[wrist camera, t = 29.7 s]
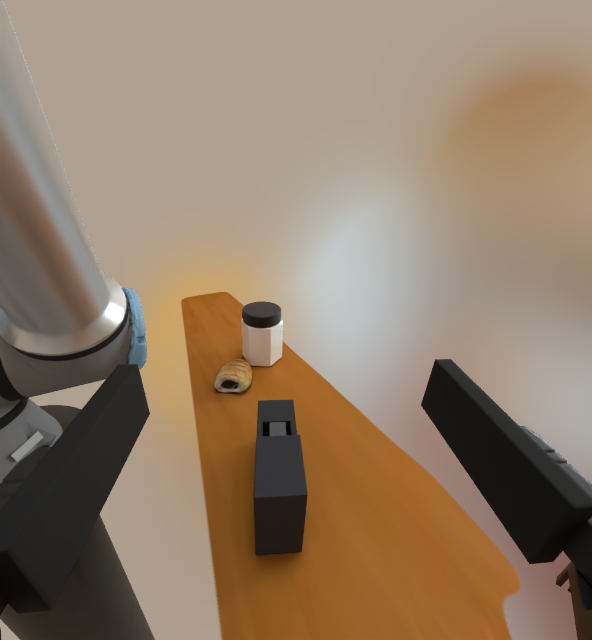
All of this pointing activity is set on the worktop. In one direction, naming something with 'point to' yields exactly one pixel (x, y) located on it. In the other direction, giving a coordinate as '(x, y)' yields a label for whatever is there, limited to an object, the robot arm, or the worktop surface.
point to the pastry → (234, 376)
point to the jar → (262, 333)
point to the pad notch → (276, 416)
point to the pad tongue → (279, 492)
